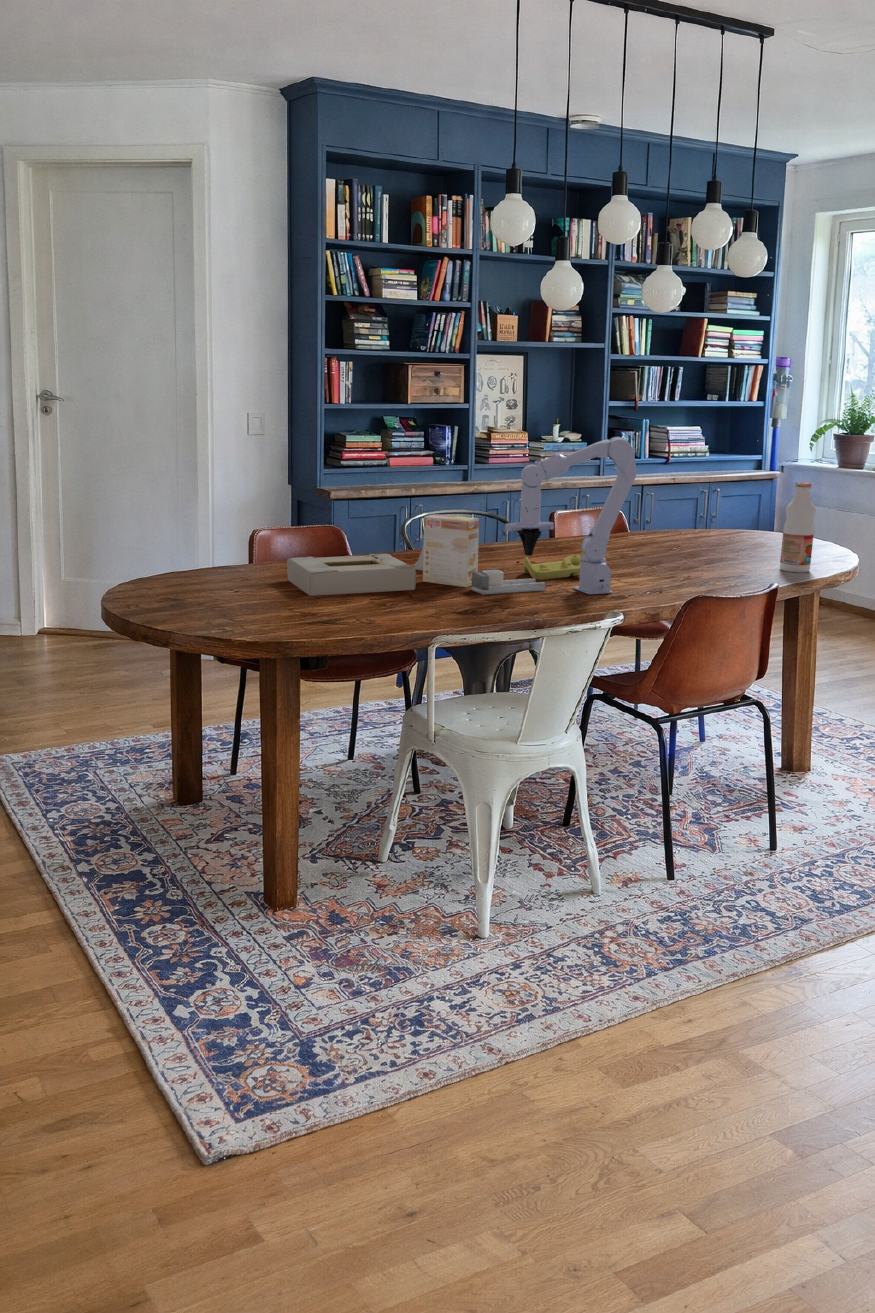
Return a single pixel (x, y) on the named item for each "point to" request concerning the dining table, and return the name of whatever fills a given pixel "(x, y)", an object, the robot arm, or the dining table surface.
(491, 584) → the block
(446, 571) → the coffeecake box
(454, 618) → the dining table surface
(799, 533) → the fruit juice
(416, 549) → the dining table surface
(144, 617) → the dining table surface
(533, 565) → the plastic component
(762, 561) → the dining table surface
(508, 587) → the rail
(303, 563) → the box
